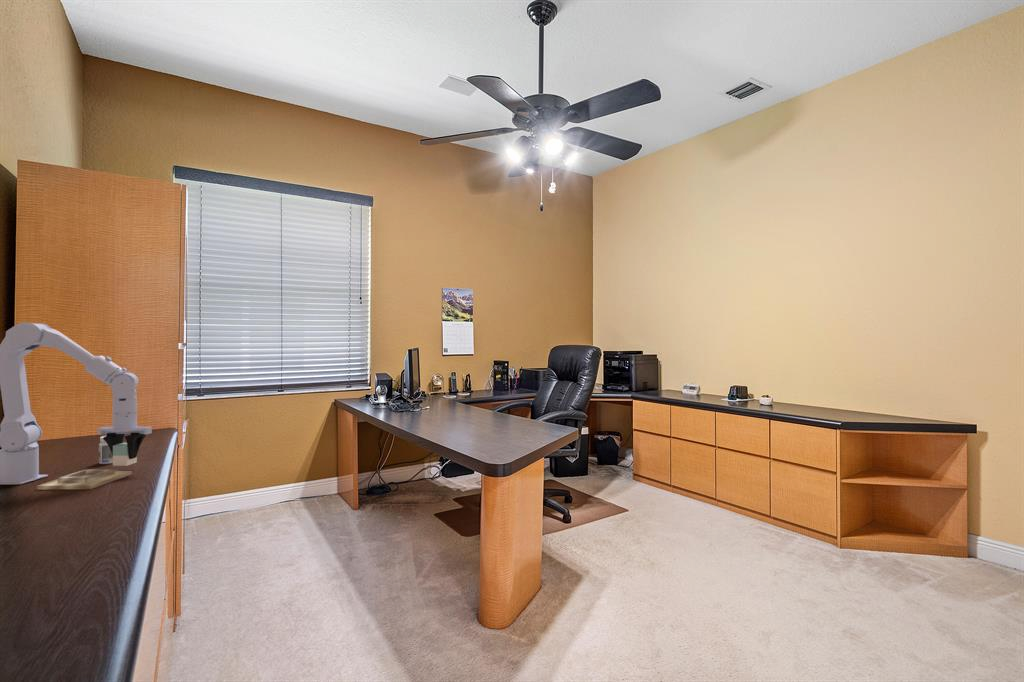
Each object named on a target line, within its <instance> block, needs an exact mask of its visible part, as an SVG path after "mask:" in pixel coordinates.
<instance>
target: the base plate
mask: <svg viewBox="0 0 1024 682" xmlns="http://www.w3.org/2000/svg"><path fill="white" fill-rule="evenodd" d="M132 474H133V470H115V469H114V468H113V469H112V468H111V469H110V468H109V469H107V468H103V469H101V468H100V469H94V468H93V469H92V468H91V469H82V470H79V471H76V472H72V473H69V474H66V475H63V476H59V477H57V478H56V479H53V480H51V481H48V482H45V483H41V484H39V485H36V491H37V490H93V489H95V488H98V487H101V486H104V485H106V484H109V483H112V482H114V481H119V480H120V479H123V478H126V477H127V476H128V477H129V476H131V475H132Z"/></svg>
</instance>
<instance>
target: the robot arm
mask: <svg viewBox="0 0 1024 682" xmlns="http://www.w3.org/2000/svg"><path fill="white" fill-rule="evenodd" d="M39 347H46V348H47V347H48V348H54V349H57V350H59V351H61V352H62V353H64V354H66V355H67V356H70V357H72V358H73V359H75V360H77V361H78V362H80V363H82V364H83V365H84V369H85V371H86V372H87V373H89V374H91V375H92V376H94V377H95V378H97V379H98V380H100V381H102V382H103V383H104V384H108V385H109V388H110V389H111V391H112V426H102V427H98V428H97V435H100V436H101V435H104V436H105V437H103V439H104V440H105V442H106V443H107V444H108V446H109V448H110V450H111V452H112V455H113V445H117V444H120V443H124V438H125V440H126V443H127V445H128V456H129V459H133V458H136V457H137V458H138V452H139V450H140V447H141V445H142V443H143V440H144V439H145V438H146V435H150V434H151V435H152V432H153V430H152V429H153V428H152V426H141V425H138V397H137V387H138V385H139V383H140V382H139V381H140V380H139V378H138V376H137V375H136V374H135V373H134V372H132V371H127V370H128V369H127V368H126V367H121V366H119V365H118V364H116V363H115V362H114V361H112V360H113V359H112V358H111V357H110V356H104V355H94V354H92V353H91V352H89V351H88V350H87V349H85V348H84V347H83V346H81V345H80V344H78V343H76V342H75V341H74V340H72V339H71V338H69V336H66V335H65V334H63V333H62V332H61V331H59V330H57V329H54V328H52V327H50V326H49V324H45V323H41V322H39V323H38V322H37V323H36V322H35V323H33V322H28V321H27V322H24V321H23V322H20V323H17V324H16V325H14V326H12V327H11V328H9V329H8V330H6V331H5V337H3V339H2V341H1V343H0V393H1V394H0V395H1V400H2V401H1V402H2V408H3V409H2V410H3V415H4V416H3V418H2V420H1V422H0V448H1V449H0V485H23V484H26V483H30V482H34V481H36V480H40V479H43V478H47V477H48V476H49V474H40V471H39V470H40V469H39V468H40V457H39V456H40V455H39V453H40V452H39V451H40V450H39V449H40V448H39V446H40V445H39V444H38V441H40V439H41V437H42V435H43V430H42V428H41V426H40V425H39V424H38V423H37V419H36V416H35V415H34V414H33V413H32V410H31V401H30V395H29V389H28V380H27V373H26V364H25V359H24V358H25V357H26V356H27V355H28V354H30V353H31V352H32V351H34V350H35V349H37V348H39ZM125 435H126V436H125Z"/></svg>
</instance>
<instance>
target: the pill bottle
mask: <svg viewBox="0 0 1024 682" xmlns="http://www.w3.org/2000/svg"><path fill="white" fill-rule="evenodd" d="M105 436H106V435H102V436H100V437H99V441H100V442H99V444H98V463H99V465H108V464H109V465H110V464H113V455H112V452H111V450H110V448H109V446H108V444H107V443H106V442H105V440H104V439H103V437H105Z"/></svg>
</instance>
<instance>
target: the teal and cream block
mask: <svg viewBox="0 0 1024 682" xmlns="http://www.w3.org/2000/svg"><path fill="white" fill-rule="evenodd" d="M136 463H138V456H137V457H136V458H133V459H129V456H128V445H127V442H123V443H120V444H117V445H113V463H112V466H113V467H122V466H125V467H126V466H127V467H128V466H130V465H133V464H136Z"/></svg>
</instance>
